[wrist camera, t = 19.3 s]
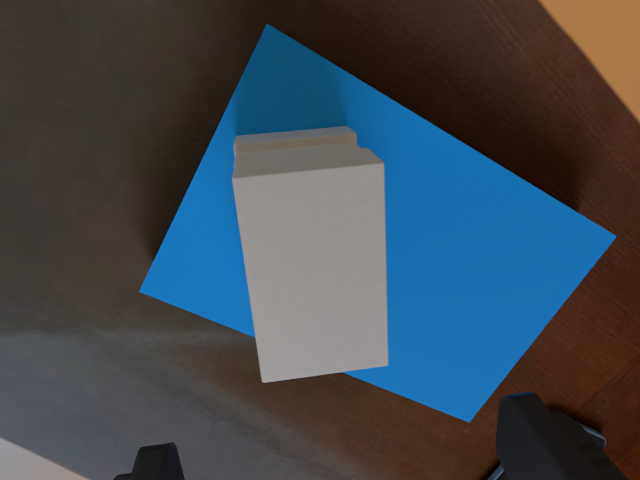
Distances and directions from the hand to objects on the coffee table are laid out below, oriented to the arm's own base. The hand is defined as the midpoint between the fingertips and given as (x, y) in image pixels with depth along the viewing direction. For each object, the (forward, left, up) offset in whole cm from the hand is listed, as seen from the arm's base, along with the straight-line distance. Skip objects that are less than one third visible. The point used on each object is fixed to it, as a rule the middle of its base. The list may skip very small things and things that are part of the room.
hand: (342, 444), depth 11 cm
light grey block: (0, 0, -12) cm, 12 cm away
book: (+4, +5, -21) cm, 22 cm away
